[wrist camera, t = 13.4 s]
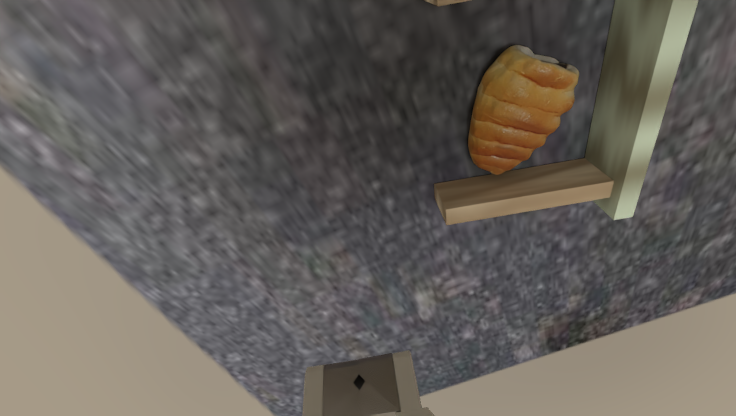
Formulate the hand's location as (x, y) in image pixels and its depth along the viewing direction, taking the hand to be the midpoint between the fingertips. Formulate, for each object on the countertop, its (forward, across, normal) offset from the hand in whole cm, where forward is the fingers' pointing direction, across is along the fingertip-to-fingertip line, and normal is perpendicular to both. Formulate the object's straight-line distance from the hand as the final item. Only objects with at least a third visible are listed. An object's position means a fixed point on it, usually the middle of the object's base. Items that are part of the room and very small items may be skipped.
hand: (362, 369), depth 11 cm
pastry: (+21, -13, +1) cm, 25 cm away
